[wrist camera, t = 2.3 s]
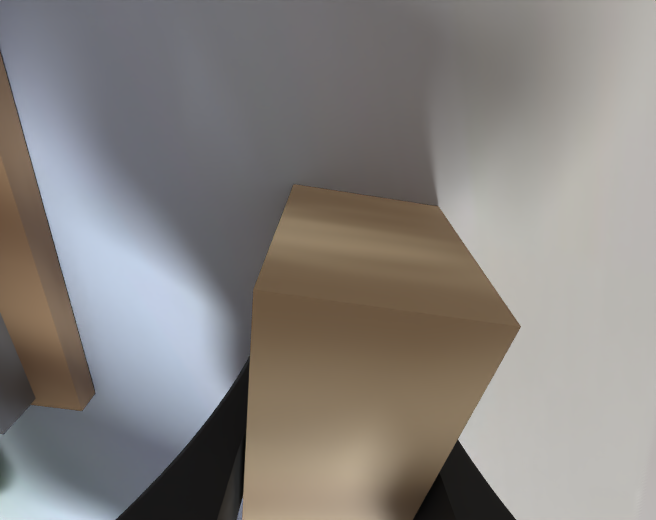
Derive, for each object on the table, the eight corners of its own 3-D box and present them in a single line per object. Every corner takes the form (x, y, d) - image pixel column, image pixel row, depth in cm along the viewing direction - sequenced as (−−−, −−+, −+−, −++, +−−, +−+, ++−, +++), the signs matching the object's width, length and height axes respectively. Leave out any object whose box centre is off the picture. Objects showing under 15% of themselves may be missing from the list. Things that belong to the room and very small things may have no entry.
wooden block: (356, 455, 15) (362, 609, 11) (267, 444, 15) (238, 597, 11) (438, 205, 9) (520, 326, 5) (293, 183, 9) (252, 289, 5)
